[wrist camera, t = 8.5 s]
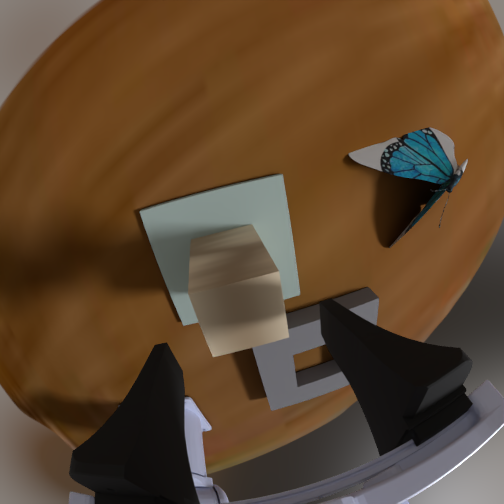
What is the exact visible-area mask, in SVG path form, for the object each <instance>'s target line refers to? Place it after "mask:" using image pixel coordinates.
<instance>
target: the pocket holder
mask: <svg viewBox="0 0 504 504" xmlns="http://www.w3.org/2000/svg"><path fill="white" fill-rule="evenodd" d="M333 300H335V301H336V302H338V303H339V304H341V305H342V306H344V307H345V308H347V309H349V310H350V311H352V312H353V313H355V314H357V315H358V316H360V317H362V318H364V319H365V320H367V321H369V322H371V323H373V324H375V325H376V323H377V314H378V304H379V298H378V297H377V295H376V294H375V293H374V292H373V291H372V290H371V289H370V288H369V287H367V288H364V289H361V290H359V291H356V292H353V293H350V294H347V295H344V296H341V297H338V298H335V299H333ZM286 319H287V325H288V332H289V338H285V339H282V340H278V341H275V342H271V343H268V344H264V345H260V346H256V347H253V348H252V349H253V352H254V355H255V359H256V362H257V365H258V369H259V372H260V375H261V379H262V382H263V385H264V389H265V392H266V395H267V398H268V401H269V405H270V408H271V411H272V410H276V409H280V408H283V407H287V406H290V405H293V404H296V403H300V402H303V401H306V400H309V399H312V398H315V397H317V396H320V395H323V394H326V393H329V392H331V391H334V390H337V389H339V388H342V387H344V386H347V385H349V382H348V380H347V379H346V377H345V376H344V374H343V373H342V371H341V369H340V368H339V366H338V365H337V363H336V362H335V360H331V361H329V362H326V363H323V364H320V365H317V366H314V367H311V368H308V369H305V370H302V371H299V372H296V373H295V366H294V359H293V355H294V354H297V353H301V352H304V351H307V350H310V349H313V348H316V347H319V346H322V345H324V344H325V342H324V339H323V337H322V335H321V324H320V308H319V304H317V305H314V306H311V307H307V308H304V309H301V310H298V311H294V312H291V313H288V314H286Z"/></svg>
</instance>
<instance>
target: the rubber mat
mask: <svg viewBox="0 0 504 504" xmlns="http://www.w3.org/2000/svg"><path fill="white" fill-rule="evenodd" d="M140 215H141V218H142V221H143V224H144V227H145V229H146V232H147V235H148V238H149V241H150V244H151V246H152V249H153V252H154V255H155V257H156V260H157V263H158V265H159V268H160V270H161V273H162V276H163V278H164V281H165V283H166V286H167V288H168V290H169V293H170V295H171V298H172V300H173V302H174V305H175V307H176V309H177V312H178V314H179V316H180V319H181V321H182V323H183V325H188V324H193V323H197V322H199V321H198V319H197V316H196V314H195V311H194V309H193V306H192V303H191V301H190V298H189V295H188V283H189V261H190V243H191V239H195V238H199V237H203V236H207V235H211V234H214V233H218V232H222V231H226V230H230V229H234V228H238V227H243V226H247V225H251V224H252V225H253V227H254V228H255V230H256V232H257V234H258V235H259V237H260V239H261V241H262V242H263V244H264V246H265V247H266V249H267V251H268V253H269V254H270V256H271V258H272V260H273V261H274V263H275V265H276V267H277V268H278V270H279V274H280V280H281V286H282V293H283V299H288V298H291V297H294V296H298V295H300V288H299V280H298V273H297V265H296V258H295V251H294V244H293V237H292V230H291V223H290V217H289V210H288V204H287V198H286V192H285V186H284V180H283V175H282V174H276V175H271V176H267V177H262V178H258V179H253V180H249V181H245V182H240V183H236V184H232V185H228V186H224V187H220V188H216V189H212V190H208V191H204V192H200V193H197V194H193V195H189V196H186V197H182V198H179V199H175V200H172V201H168V202H165V203H161V204H158V205H155V206H151V207H148V208H145V209H142V210H140Z"/></svg>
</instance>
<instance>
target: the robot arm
mask: <svg viewBox="0 0 504 504" xmlns="http://www.w3.org/2000/svg"><path fill="white" fill-rule="evenodd" d="M319 308H320V324H321V335H322V337H323V339H324V342H325V344H326V346H327V348H328V350H329V352H330V354H331V355H332V357H333V358H334V360H335V362H336V363H337V365H338V366H339V368H340V369H341V371H342V373H343V374H344V376H345V377H346V379H347V380H348V382H349V384H350V385H351V387H352V389H353V391H354V393H355V395H356V397H357V399H358V401H359V403H360V405H361V408H362V410H363V412H364V414H365V417H366V419H367V422H368V424H369V427H370V429H371V432H372V434H373V437H374V440H375V443H376V445H377V448H378V451H379V454H380V457H378V458H376V459H374V460H372V461H370V462H368V463H365V464H363V465H361V466H359V467H356V468H354V469H352V470H349V471H347V472H344V473H342V474H339V475H336V476H334V477H331V478H328V479H326V480H322V481H320V482H317V483H313V484H310V485H307V486H304V487H300V488H297V489H293V490H289V491H286V492H282V493H278V494H273V495H269V496H264V497H259V498H254V499H248V500H242V501H235V502H229V501H228V498H227V496H226V494H225V492H224V491H223V490H222V489H221V488H220V487H219V486H218V485H213V482H212V478H208V477H207V475H206V467H205V459H204V450H203V440H202V432H203V431H209V430H211V426H210V424H209V423H208V421H207V420H206V419H205V417H204V416H203V414H202V413H201V411H200V410H199V409H198V407H197V406H196V404H195V403H194V401H193V400H192V398H190V397H185V388H184V379H183V371H182V369H181V367H180V366H179V364H178V362H177V360H176V358H175V357H174V355H173V353H172V351H171V349H170V348H169V346H168V344H167V343H162V344H157V345H155V346H154V348H153V349H152V351H151V353H150V355H149V357H148V359H147V361H146V363H145V365H144V366H143V368H142V370H141V372H140V374H139V376H138V378H137V379H136V381H135V383H134V384H133V386H132V388H131V389H130V391H129V393H128V394H127V396H126V397H125V399H124V400H123V402H122V403H121V404H120V405H119V406H118V408H117V410H116V411H115V412H114V413H113V415H112V416H111V417H110V418H109V419H108V420H107V421H106V423H105V424H104V425H103V426H102V427H101V428H100V429H99V430H98V431H97V432H96V433H95V434H94V435H92V436H91V437H90V438H89V439H88V440H87V441H85V442H84V443H83V444H82V445H80V446H79V447H78V448H76V449H75V450H73V453H72V458H71V465H70V471H69V474H70V476H71V478H72V479H74V480H75V481H76V482H78V483H80V484H81V485H83V486H85V487H87V488H89V489H91V490H92V491H94V492H95V497H93V496H90V495H86V494H81V493H76V492H70V497H69V504H305V503H308V502H311V501H315V500H317V499H321V498H324V497H327V496H329V495H332V494H335V493H338V492H340V491H343V490H346V489H348V488H351V487H353V486H356V485H358V484H360V483H362V482H364V484H363V486H364V487H363V488H362V489H361V490H358V491H356V492H353V493H350V494H347V495H345V496H341V497H338V498H335V499H332V500H329V501H326V502H322V503H320V504H409V502H408V499H410V498H412V497H413V496H415V495H417V494H418V493H420V492H421V491H423V490H425V489H426V488H428V487H429V486H431V485H433V484H434V483H436V482H437V481H438V480H440V479H441V478H443V477H444V476H445V475H447V474H448V473H450V472H451V471H452V470H454V469H455V468H456V467H458V466H459V465H460V464H461V463H463V462H464V461H465V460H466V459H468V458H469V457H470V456H471V455H472V454H474V453H475V452H476V451H477V450H478V449H479V448H480V447H481V446H482V445H484V444H485V443H486V442H487V441H488V440H489V439H490V438H491V437H492V436H493V435H494V434H495V433H496V432H497V431H498V430H499V429H500V428H501V427H502V426H503V425H504V398H503V396H502V395H501V394H500V393H499V392H498V391H497V389H496V388H495V387H494V386H493V385H492V384H491V382H490V381H489V380H486V381H485V382H483V383H482V384H481V385H480V386H479V387H478V388H476V389H475V390H474V391H473V392H472V393H471V394H470V395H469V396H468V397H467V396H466V394H465V392H466V388H465V387H464V386H463V383H464V381H465V380H466V378H467V376H468V374H469V372H470V370H471V368H472V360H471V359H470V358H469V357H468V356H467V355H466V354H465V353H464V352H463V351H462V350H461V349H460V348H453V347H444V346H437V345H432V344H427V343H422V342H418V341H415V340H412V339H408V338H405V337H402V336H399V335H397V334H394V333H392V332H389V331H387V330H385V329H383V328H381V327H379V326H377V325H375V324H373V323H371V322H369V321H367V320H365V319H364V318H362V317H360V316H358V315H357V314H355V313H353V312H352V311H350V310H349V309H347V308H345V307H344V306H342V305H341V304H339V303H338V302H336V301H335V300H333V299H328V300H325V301H321V302H319ZM369 479H370V480H369ZM367 480H368V481H367ZM365 481H366V482H365Z"/></svg>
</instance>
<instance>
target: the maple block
mask: <svg viewBox="0 0 504 504" xmlns="http://www.w3.org/2000/svg"><path fill="white" fill-rule="evenodd" d="M188 295H189V298H190V301H191V303H192V306H193V309H194V311H195V314H196V316H197V319H198V321H199V324H200V327H201V329H202V331H203V334H204V336H205V339H206V341H207V344H208V346H209V348H210V351H211V353H212V356H213V357H216V356H220V355H224V354H229V353H233V352H237V351H241V350H245V349H249V348H253V347H256V346H260V345H264V344H268V343H271V342H275V341H278V340H282V339H285V338H289V332H288V325H287V319H286V312H285V306H284V299H283V293H282V286H281V280H280V274H279V270H278V268H277V267H276V265H275V263H274V261H273V260H272V258H271V256H270V254H269V253H268V251H267V249H266V247H265V246H264V244H263V242H262V241H261V239H260V237H259V235H258V234H257V232H256V230H255V228H254V227H253V225H252V224H251V225H247V226H243V227H238V228H234V229H230V230H226V231H222V232H218V233H214V234H211V235H207V236H203V237H199V238H195V239H191V243H190V261H189V283H188Z"/></svg>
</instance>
